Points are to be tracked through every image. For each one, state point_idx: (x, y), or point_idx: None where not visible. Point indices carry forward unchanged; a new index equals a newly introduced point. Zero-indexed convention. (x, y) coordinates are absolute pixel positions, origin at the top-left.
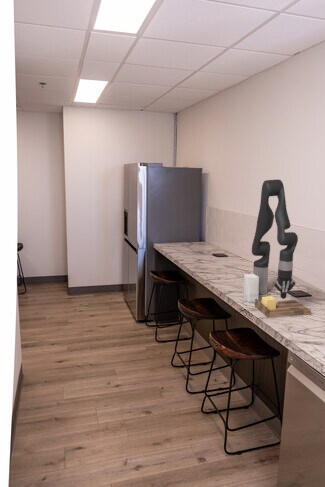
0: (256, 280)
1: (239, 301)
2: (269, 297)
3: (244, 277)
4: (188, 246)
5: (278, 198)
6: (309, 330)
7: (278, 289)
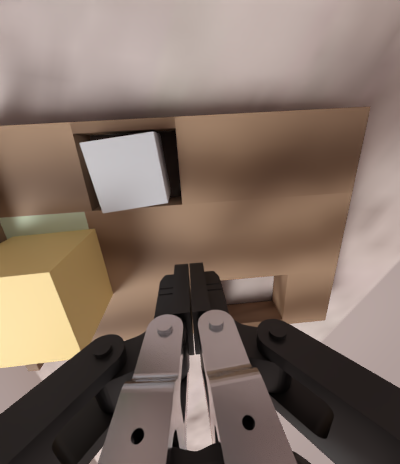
0: None
1: None
2: (17, 309)
3: None
4: None
5: None
6: (203, 424)
7: (72, 432)
